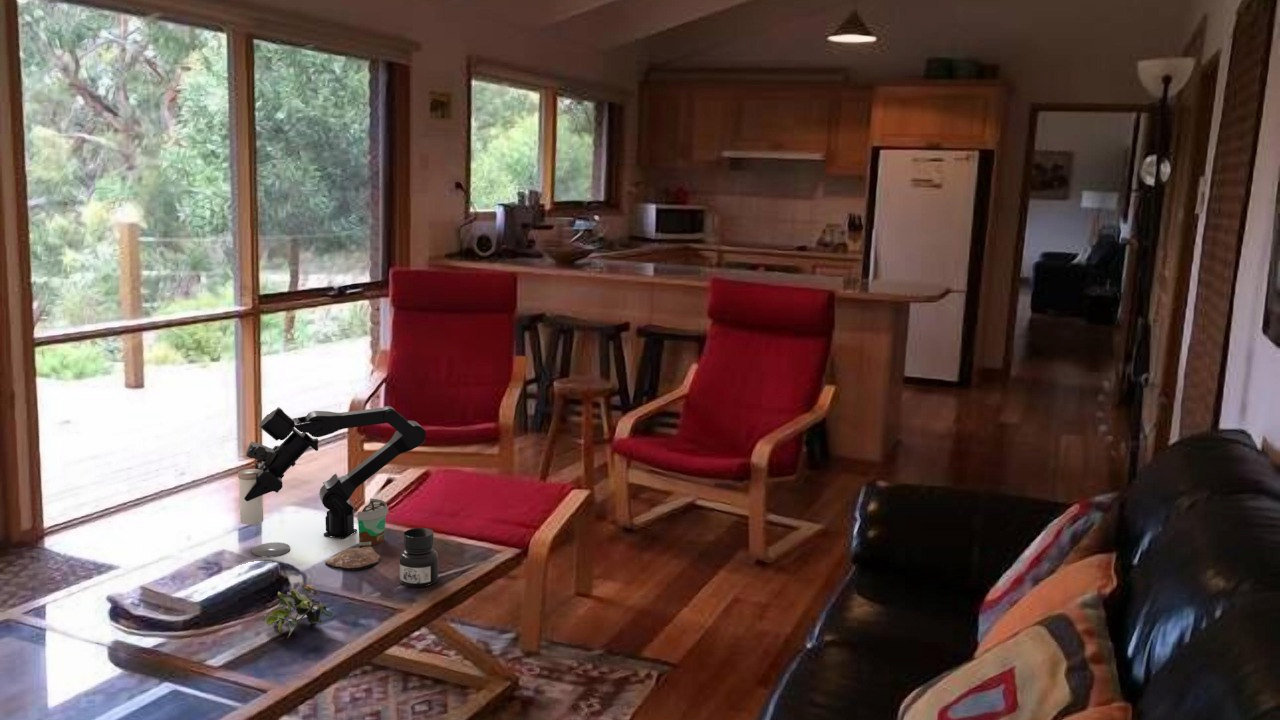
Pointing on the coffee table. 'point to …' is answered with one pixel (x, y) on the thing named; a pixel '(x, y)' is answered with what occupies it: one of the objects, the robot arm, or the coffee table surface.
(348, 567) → the shell
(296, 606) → the green leafy plant
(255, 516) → the tumbler
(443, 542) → the coffee table surface
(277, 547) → the coaster
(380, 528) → the food container
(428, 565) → the ink bottle
